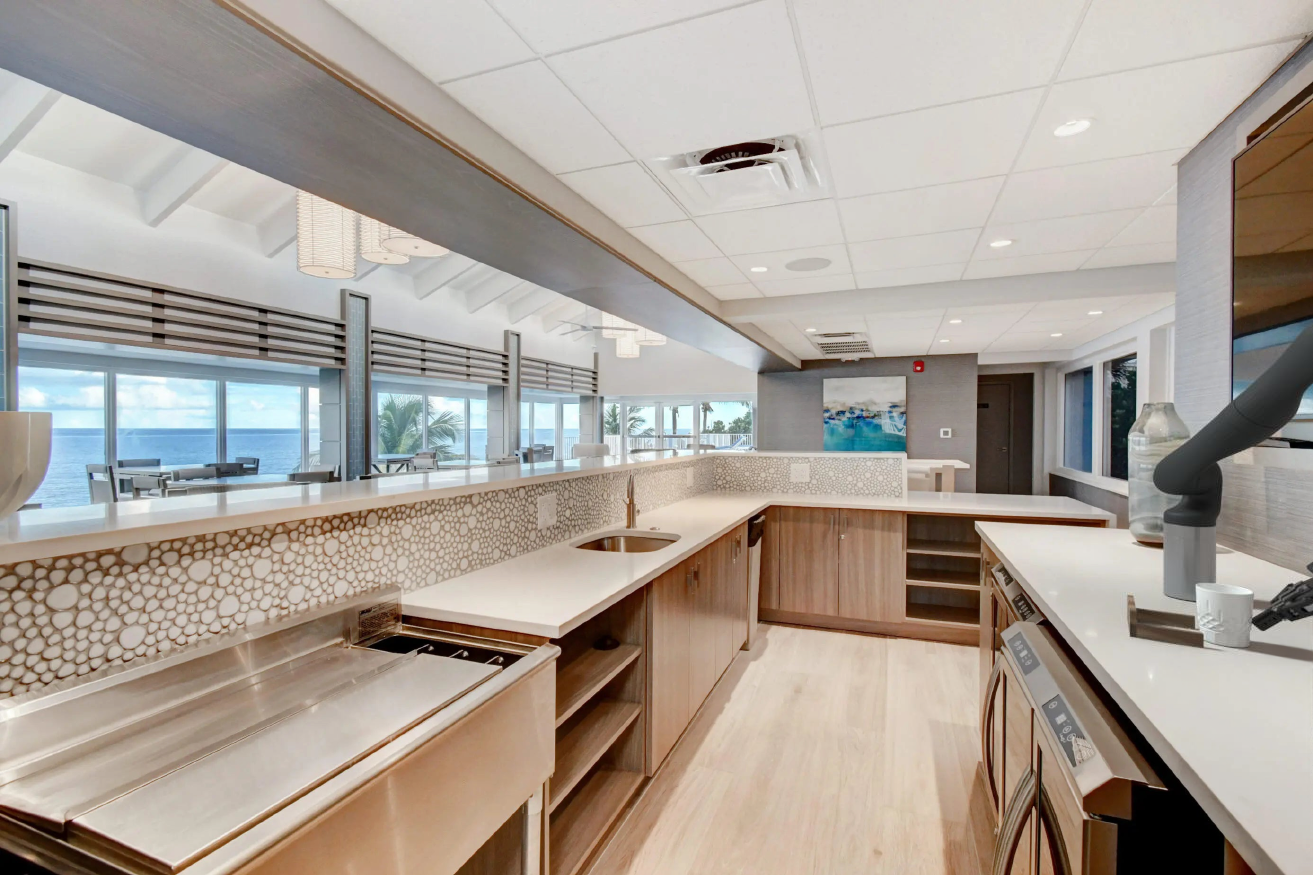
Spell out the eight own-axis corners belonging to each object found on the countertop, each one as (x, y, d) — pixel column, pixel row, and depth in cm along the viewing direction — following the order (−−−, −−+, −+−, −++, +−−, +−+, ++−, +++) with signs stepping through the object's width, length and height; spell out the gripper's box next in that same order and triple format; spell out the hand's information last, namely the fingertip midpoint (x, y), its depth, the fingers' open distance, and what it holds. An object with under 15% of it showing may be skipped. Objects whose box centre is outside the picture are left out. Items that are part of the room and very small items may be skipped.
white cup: (1265, 650, 105) (1265, 595, 105) (1213, 647, 107) (1213, 593, 107) (1233, 635, 113) (1233, 583, 113) (1185, 632, 115) (1185, 581, 115)
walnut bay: (1127, 618, 124) (1127, 594, 124) (1194, 627, 117) (1194, 603, 117) (1129, 636, 113) (1129, 610, 113) (1203, 647, 107) (1203, 620, 107)
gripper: (1320, 544, 107) (1228, 600, 114) (1346, 557, 96) (1242, 618, 104) (1365, 577, 104) (1267, 632, 111) (1396, 594, 93) (1286, 654, 101)
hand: (1255, 625), depth 108 cm, fingers closed
